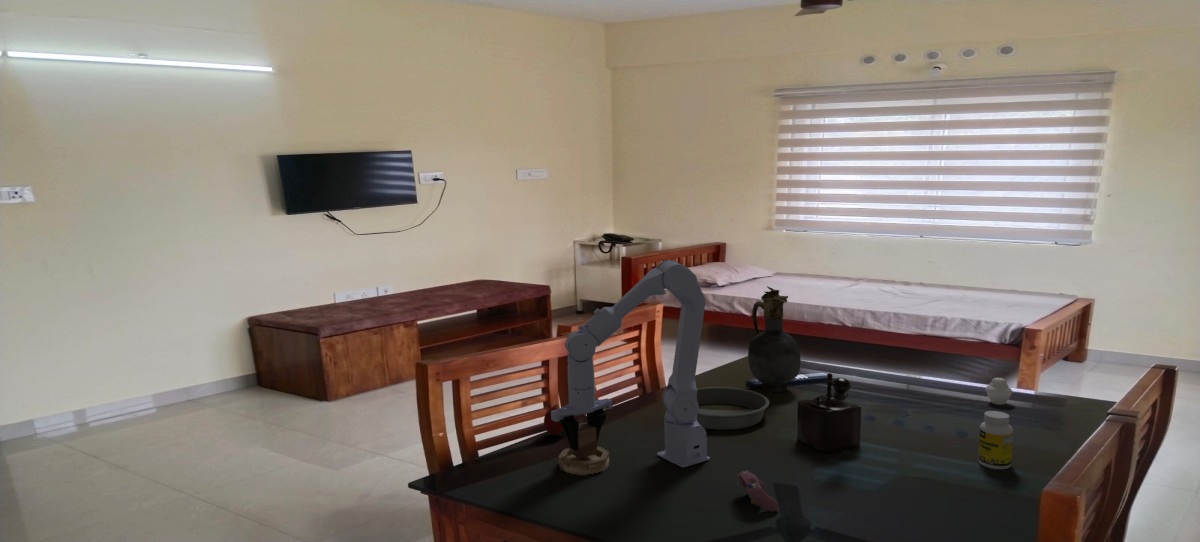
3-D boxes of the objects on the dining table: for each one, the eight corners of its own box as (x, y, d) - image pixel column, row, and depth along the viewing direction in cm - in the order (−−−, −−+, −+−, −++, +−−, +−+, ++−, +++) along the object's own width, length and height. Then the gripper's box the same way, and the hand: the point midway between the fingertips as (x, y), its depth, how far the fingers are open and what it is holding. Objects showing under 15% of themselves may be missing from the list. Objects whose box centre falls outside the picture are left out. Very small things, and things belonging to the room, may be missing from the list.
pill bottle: (971, 462, 158) (973, 412, 157) (992, 457, 161) (994, 407, 159) (997, 472, 153) (999, 421, 151) (1018, 467, 155) (1020, 416, 154)
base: (618, 467, 162) (618, 456, 161) (575, 479, 156) (575, 468, 156) (592, 452, 171) (592, 441, 171) (550, 463, 165) (549, 452, 165)
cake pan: (789, 418, 190) (789, 401, 190) (719, 440, 177) (718, 421, 176) (722, 396, 210) (722, 380, 210) (654, 414, 197) (654, 397, 196)
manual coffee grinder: (793, 439, 175) (793, 365, 172) (830, 431, 179) (831, 359, 177) (839, 462, 161) (840, 381, 158) (878, 453, 165) (879, 374, 163)
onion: (564, 440, 179) (563, 408, 178) (541, 439, 180) (540, 407, 179) (570, 432, 185) (569, 401, 184) (548, 431, 186) (546, 400, 185)
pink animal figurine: (745, 499, 148) (729, 470, 147) (765, 488, 148) (749, 459, 147) (760, 522, 138) (743, 491, 137) (782, 510, 138) (765, 479, 137)
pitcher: (772, 398, 206) (771, 292, 202) (738, 381, 224) (737, 283, 220) (805, 393, 209) (806, 288, 205) (769, 376, 227) (769, 280, 223)
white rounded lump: (987, 398, 200) (988, 373, 199) (1013, 401, 197) (1014, 376, 196) (983, 404, 195) (984, 378, 195) (1009, 408, 192) (1010, 381, 191)
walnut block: (597, 453, 163) (596, 427, 162) (579, 458, 160) (578, 431, 160) (586, 448, 166) (585, 422, 166) (569, 452, 164) (568, 426, 163)
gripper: (599, 376, 168) (601, 433, 170) (543, 387, 161) (545, 448, 162) (616, 383, 162) (618, 442, 164) (559, 395, 155) (561, 457, 156)
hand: (583, 446), depth 163 cm, fingers closed on walnut block, 4 cm apart
